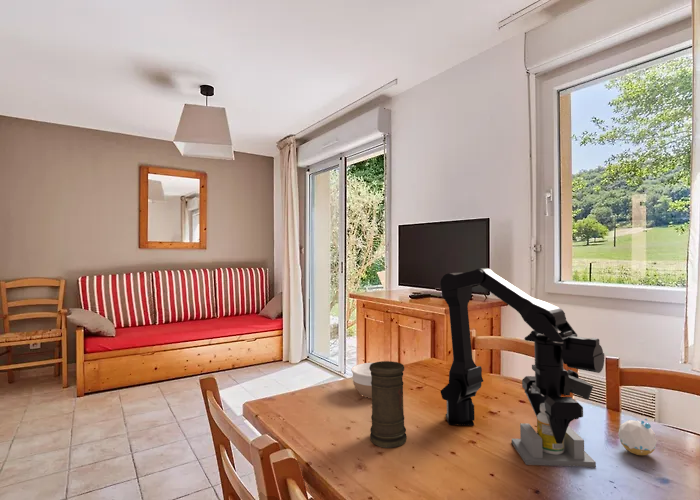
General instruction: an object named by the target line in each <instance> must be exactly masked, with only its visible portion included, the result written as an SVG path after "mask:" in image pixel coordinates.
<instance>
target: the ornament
mask: <svg viewBox="0 0 700 500" xmlns="http://www.w3.org/2000/svg"><path fill="white" fill-rule="evenodd" d="M645 421H648V419H647V418H645V419H644V420H634V419H633V420H632V419H628V420H626V421H625V422H623V423H622V424H620V425H619V430H618V434H617V436H618V438H619V442H620V444H621V445H622V447H624V449H625V450H627V451H628V452H630V453H631V454H634V455H637V456H647V455H650V454H652V453H653V452H654V451H655V449H656V447H657V436H656V433H655V432H654V430H653V429H652V428H651V427H652V426H651V423H649V422H645Z"/></svg>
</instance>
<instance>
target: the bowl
mask: <svg viewBox="0 0 700 500" xmlns="http://www.w3.org/2000/svg"><path fill="white" fill-rule="evenodd" d="M372 363H373V362H365V363H359V364H356V365H354V366H353V367H351V373H352V383H353V385H354V388H355V390H357V392H358V393H359V395H360V394H361V395H363V396H365V397H364V398H366V397H368V398H367V399H370V398H372V385H371V381H372V376H371V371H370V369H369V368H370V365H371V364H372ZM361 395H360V396H361ZM363 396H362V397H363Z"/></svg>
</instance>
